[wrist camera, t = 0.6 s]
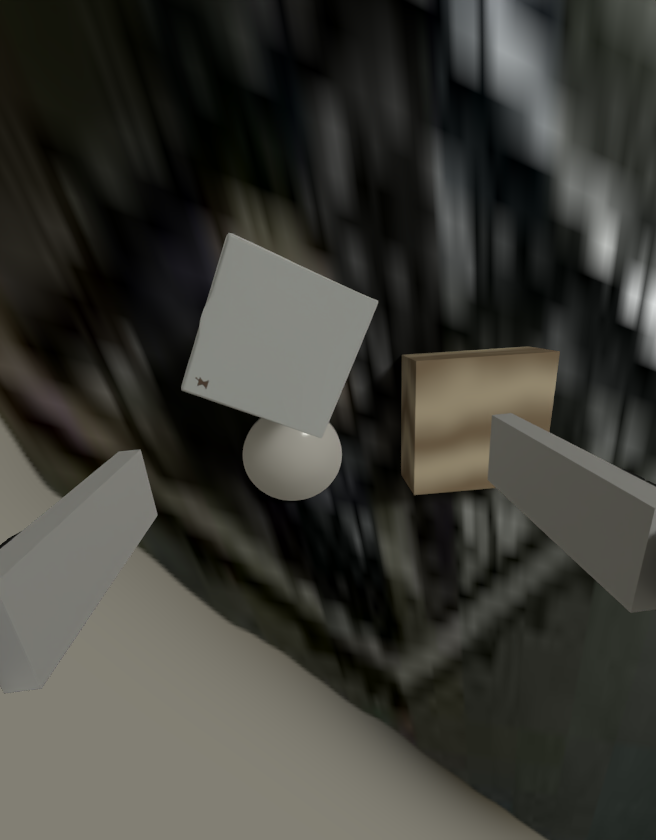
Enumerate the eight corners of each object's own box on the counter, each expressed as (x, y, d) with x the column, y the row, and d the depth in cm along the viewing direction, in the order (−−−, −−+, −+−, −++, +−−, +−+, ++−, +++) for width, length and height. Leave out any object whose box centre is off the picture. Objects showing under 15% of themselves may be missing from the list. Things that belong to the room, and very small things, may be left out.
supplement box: (312, 392, 36) (322, 446, 22) (225, 359, 35) (174, 393, 20) (348, 304, 34) (384, 300, 20) (256, 264, 32) (224, 228, 18)
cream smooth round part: (238, 409, 36) (236, 412, 35) (338, 402, 37) (340, 405, 35) (249, 498, 39) (248, 504, 38) (342, 491, 40) (343, 496, 38)
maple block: (400, 354, 36) (416, 361, 31) (525, 346, 37) (559, 351, 32) (400, 473, 40) (414, 495, 35) (513, 463, 41) (542, 483, 36)
